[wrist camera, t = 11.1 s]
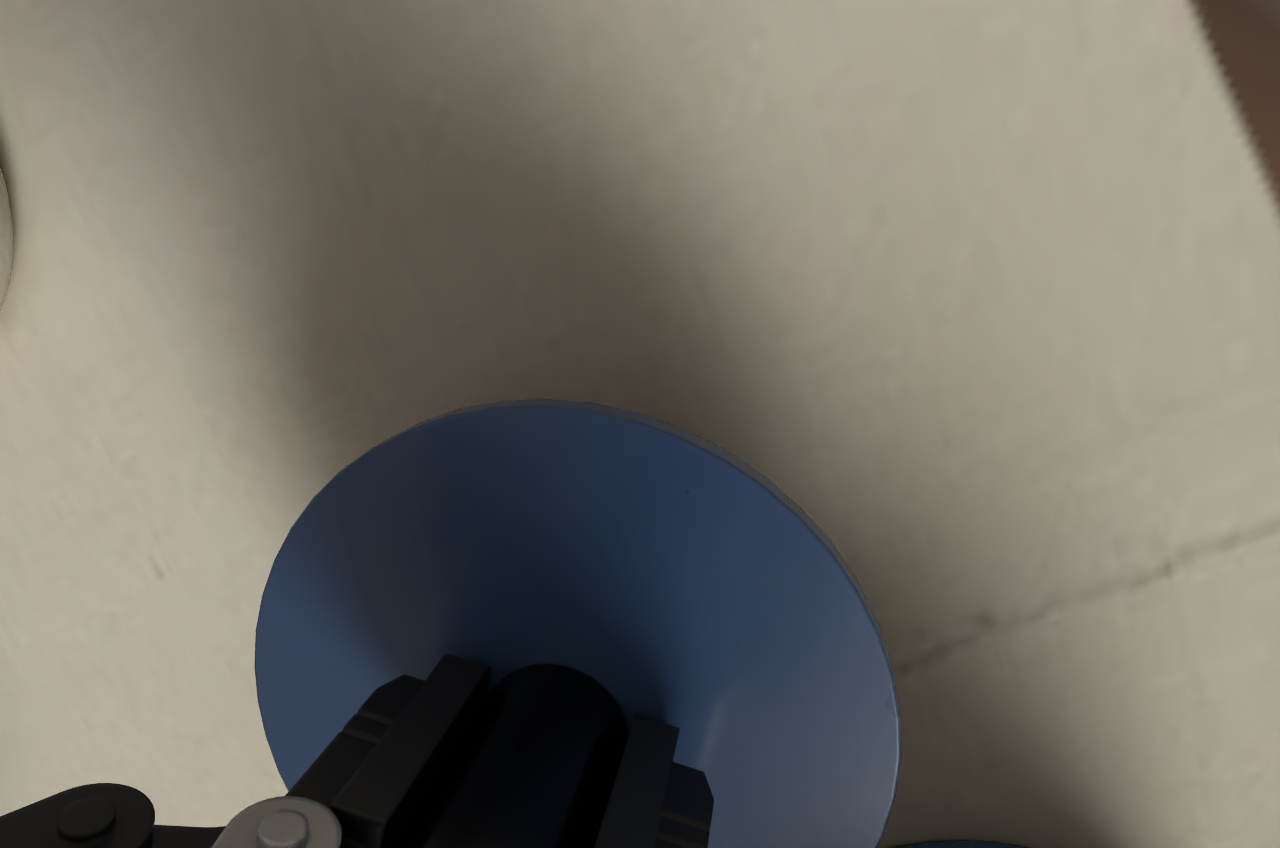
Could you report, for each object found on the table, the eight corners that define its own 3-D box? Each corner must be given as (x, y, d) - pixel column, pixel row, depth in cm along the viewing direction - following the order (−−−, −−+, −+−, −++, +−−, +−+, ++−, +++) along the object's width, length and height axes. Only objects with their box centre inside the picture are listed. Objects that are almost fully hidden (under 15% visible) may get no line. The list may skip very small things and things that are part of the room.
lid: (991, 499, 12) (1136, 727, 7) (788, 1018, 16) (782, 1447, 10) (327, 313, 13) (22, 389, 8) (263, 832, 17) (11, 1132, 11)
